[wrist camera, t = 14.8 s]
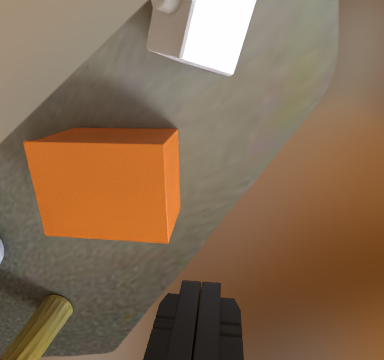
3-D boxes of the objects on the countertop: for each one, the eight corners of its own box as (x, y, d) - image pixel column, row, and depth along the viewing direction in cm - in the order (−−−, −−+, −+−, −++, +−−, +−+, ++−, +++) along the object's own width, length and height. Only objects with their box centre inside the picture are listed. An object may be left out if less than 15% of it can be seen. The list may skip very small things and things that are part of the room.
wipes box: (87, 204, 44) (55, 232, 35) (74, 127, 39) (34, 140, 31) (180, 208, 42) (169, 239, 34) (178, 128, 37) (165, 142, 29)
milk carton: (248, 15, 32) (278, -67, 14) (229, 76, 34) (235, 74, 17) (191, -2, 32) (149, -104, 14) (177, 61, 34) (126, 42, 17)
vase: (43, 312, 54) (-15, 388, 41) (44, 290, 52) (-18, 363, 39) (72, 320, 54) (22, 399, 41) (74, 298, 52) (22, 374, 38)
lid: (49, 232, 36) (45, 235, 35) (27, 140, 31) (22, 141, 30) (169, 239, 34) (168, 243, 33) (164, 142, 29) (163, 144, 28)
